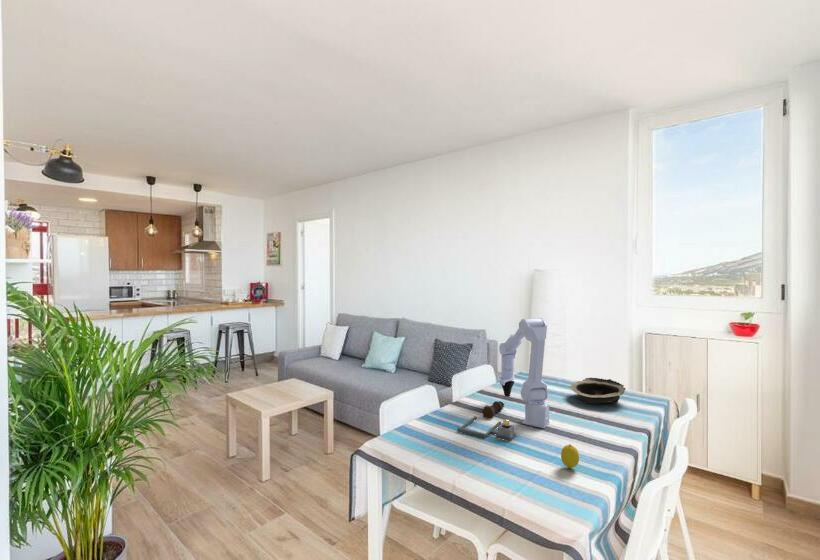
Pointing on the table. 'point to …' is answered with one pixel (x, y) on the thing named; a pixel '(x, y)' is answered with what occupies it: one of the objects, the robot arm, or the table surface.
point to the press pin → (506, 423)
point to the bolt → (492, 409)
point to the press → (491, 431)
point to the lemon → (570, 456)
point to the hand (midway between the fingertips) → (507, 396)
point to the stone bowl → (598, 390)
